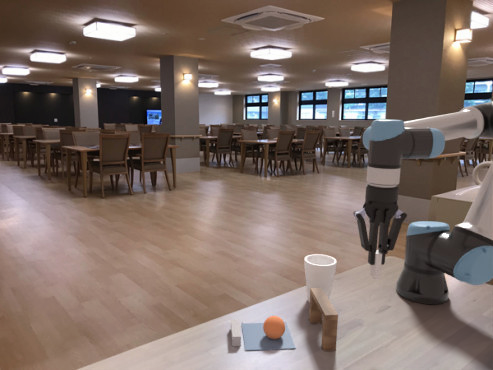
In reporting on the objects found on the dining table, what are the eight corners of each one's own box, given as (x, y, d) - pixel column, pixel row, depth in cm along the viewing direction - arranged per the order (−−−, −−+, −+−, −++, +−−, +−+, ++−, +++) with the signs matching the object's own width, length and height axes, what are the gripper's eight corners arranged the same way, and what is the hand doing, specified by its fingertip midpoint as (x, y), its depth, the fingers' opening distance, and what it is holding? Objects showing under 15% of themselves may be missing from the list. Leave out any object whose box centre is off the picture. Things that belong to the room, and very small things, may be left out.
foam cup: (334, 310, 116) (336, 267, 113) (301, 306, 118) (303, 264, 115) (333, 295, 125) (336, 255, 123) (303, 292, 127) (305, 253, 124)
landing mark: (286, 322, 108) (286, 322, 108) (295, 348, 97) (295, 348, 97) (241, 324, 107) (241, 323, 107) (245, 350, 96) (245, 349, 96)
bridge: (319, 319, 111) (321, 287, 109) (335, 350, 96) (338, 314, 95) (308, 319, 110) (310, 288, 109) (323, 350, 96) (325, 315, 94)
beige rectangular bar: (238, 328, 105) (238, 319, 105) (240, 346, 98) (240, 336, 97) (230, 328, 105) (230, 319, 105) (232, 346, 97) (232, 336, 97)
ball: (257, 321, 103) (270, 335, 104) (260, 333, 98) (275, 347, 99) (273, 307, 103) (286, 321, 104) (277, 318, 98) (292, 333, 99)
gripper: (401, 181, 102) (393, 270, 106) (350, 181, 100) (345, 271, 105) (416, 187, 94) (407, 282, 99) (362, 187, 93) (355, 283, 97)
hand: (375, 276), depth 102 cm, fingers closed
